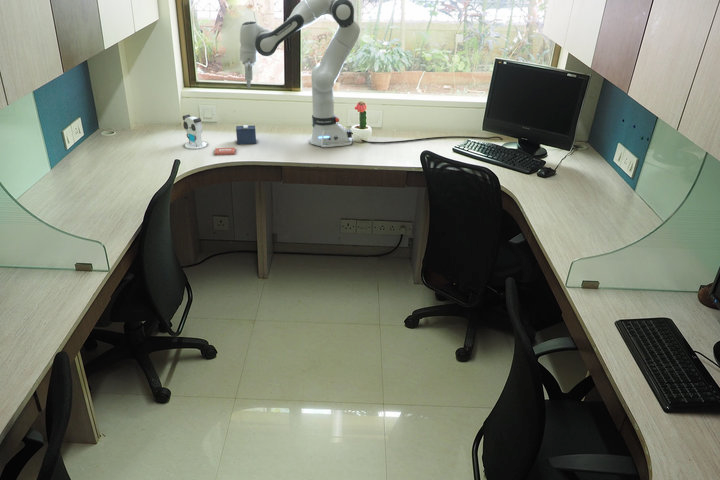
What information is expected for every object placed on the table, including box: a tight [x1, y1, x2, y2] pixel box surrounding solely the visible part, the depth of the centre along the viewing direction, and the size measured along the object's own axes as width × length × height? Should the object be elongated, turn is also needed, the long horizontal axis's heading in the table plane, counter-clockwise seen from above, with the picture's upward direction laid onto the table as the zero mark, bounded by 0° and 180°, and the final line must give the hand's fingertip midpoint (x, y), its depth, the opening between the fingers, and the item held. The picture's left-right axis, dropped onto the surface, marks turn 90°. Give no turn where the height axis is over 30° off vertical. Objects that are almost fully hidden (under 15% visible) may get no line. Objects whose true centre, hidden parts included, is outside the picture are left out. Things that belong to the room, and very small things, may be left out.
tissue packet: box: [214, 147, 236, 156], centre depth 316 cm, size 10×7×1 cm
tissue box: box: [235, 124, 257, 145], centre depth 328 cm, size 10×6×9 cm, turn 97°
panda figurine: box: [182, 114, 208, 150], centre depth 322 cm, size 12×11×15 cm
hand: (248, 85), depth 313 cm, fingers open, 8 cm apart
